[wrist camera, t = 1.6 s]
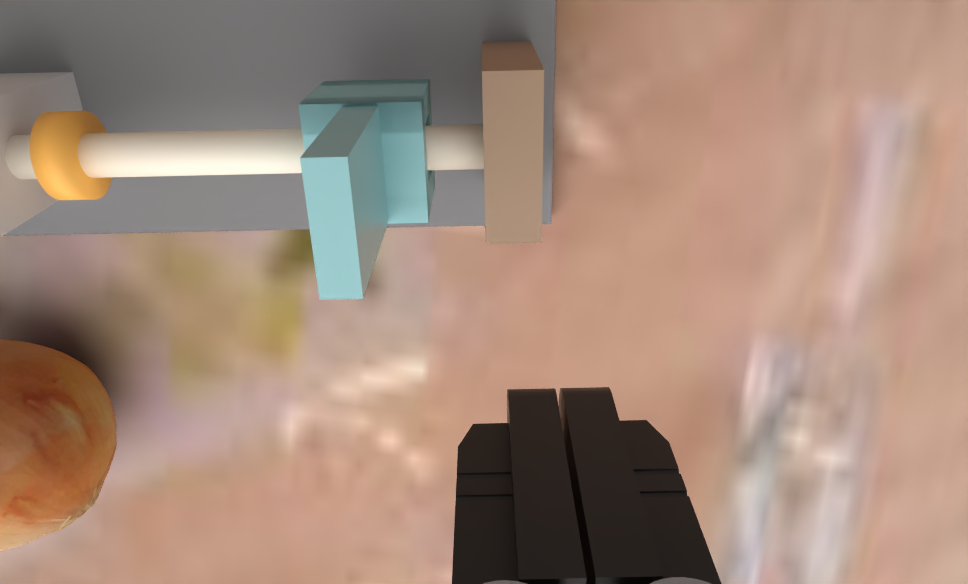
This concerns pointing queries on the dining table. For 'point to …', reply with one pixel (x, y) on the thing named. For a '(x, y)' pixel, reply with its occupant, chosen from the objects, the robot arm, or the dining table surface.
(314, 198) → the light blue bracket block
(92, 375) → the onion
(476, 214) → the grey rod holder stand
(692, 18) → the dining table surface
